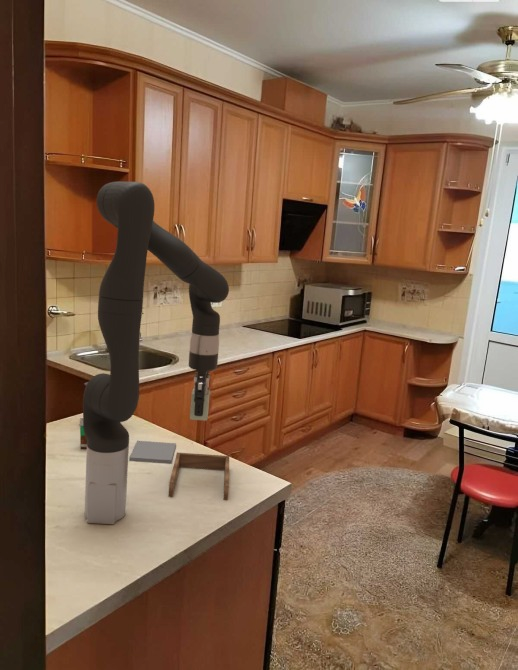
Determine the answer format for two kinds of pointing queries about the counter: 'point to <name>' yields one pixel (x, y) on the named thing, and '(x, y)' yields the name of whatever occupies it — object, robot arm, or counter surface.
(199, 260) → the robot arm
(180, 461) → the wooden u-shaped frame
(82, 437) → the food container
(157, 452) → the slate mat
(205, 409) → the sage block
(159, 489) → the counter surface
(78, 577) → the counter surface
